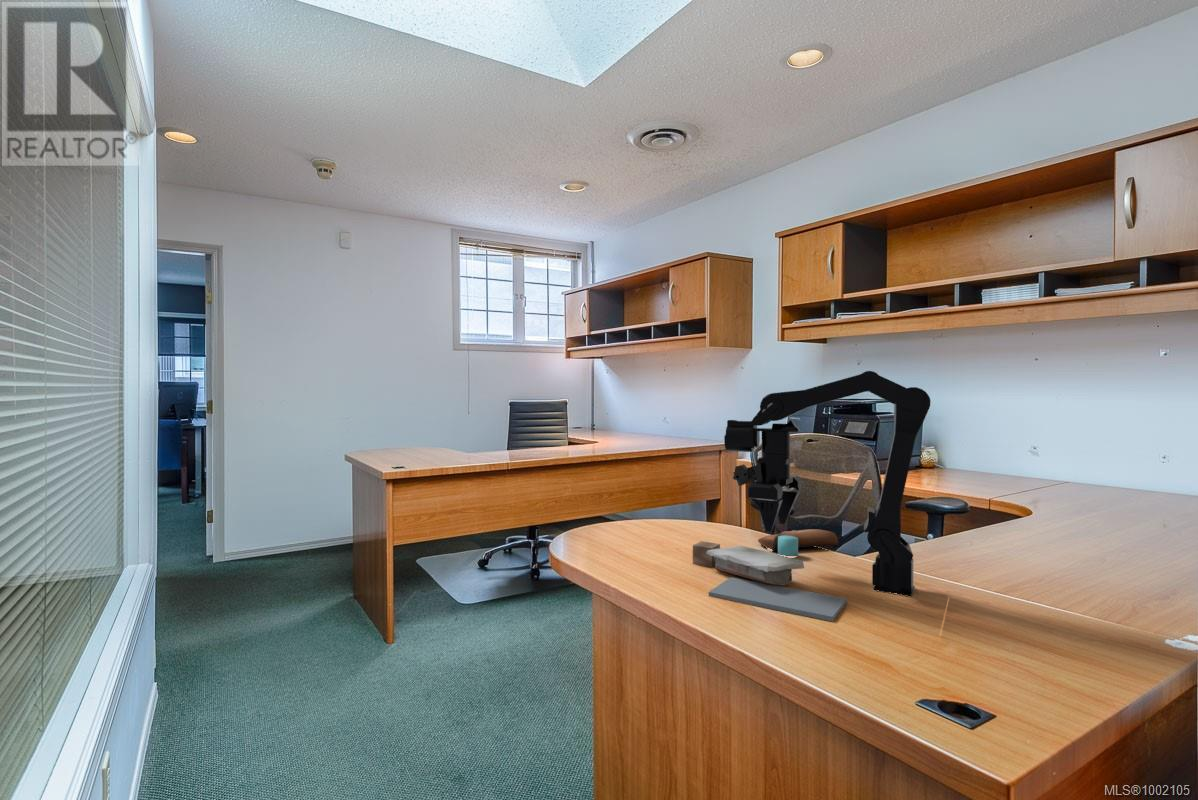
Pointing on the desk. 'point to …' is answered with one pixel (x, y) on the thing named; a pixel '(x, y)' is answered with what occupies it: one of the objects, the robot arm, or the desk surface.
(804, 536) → the sweet potato
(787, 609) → the mat
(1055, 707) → the desk surface
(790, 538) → the teal cylinder
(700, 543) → the walnut block
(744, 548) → the light grey block
